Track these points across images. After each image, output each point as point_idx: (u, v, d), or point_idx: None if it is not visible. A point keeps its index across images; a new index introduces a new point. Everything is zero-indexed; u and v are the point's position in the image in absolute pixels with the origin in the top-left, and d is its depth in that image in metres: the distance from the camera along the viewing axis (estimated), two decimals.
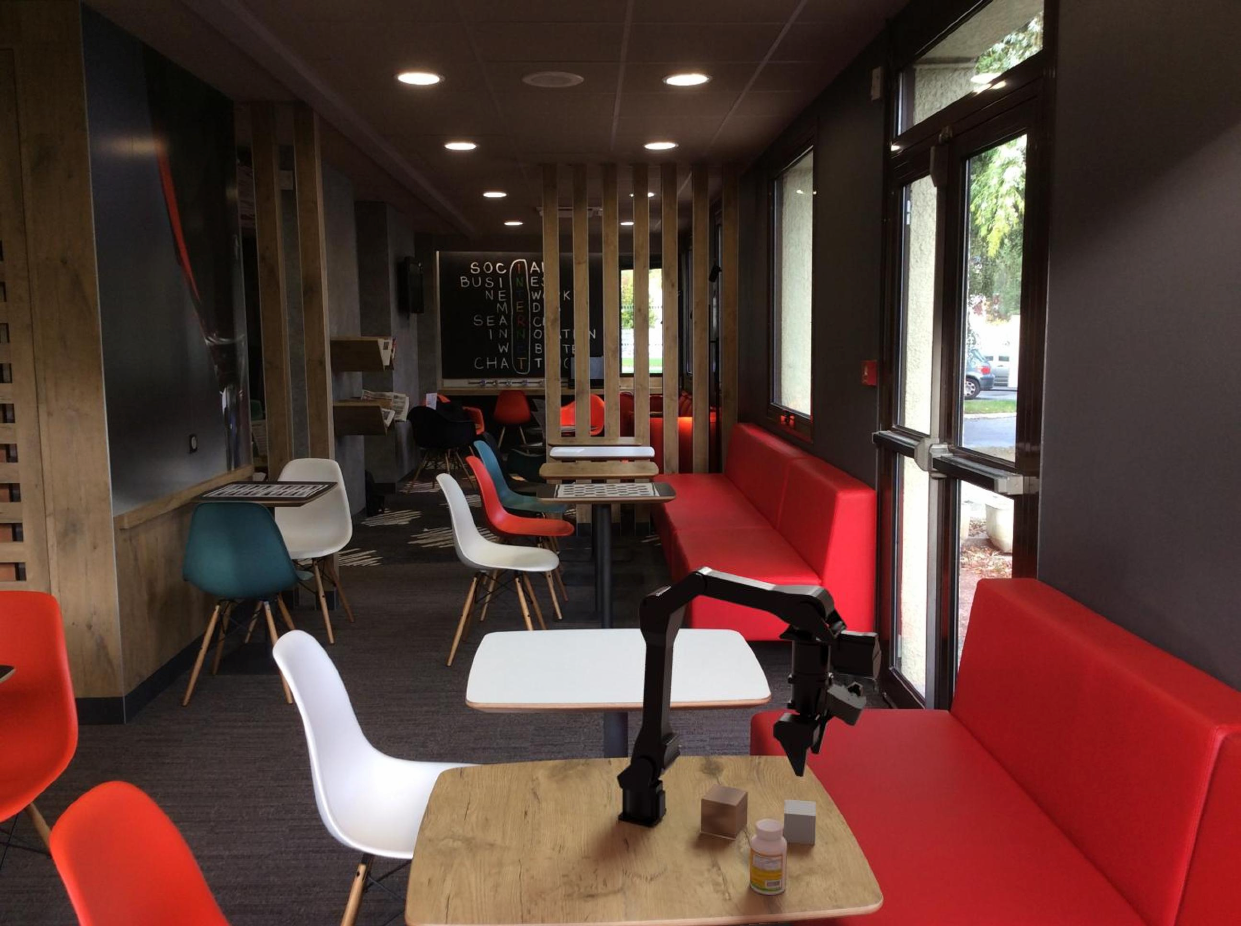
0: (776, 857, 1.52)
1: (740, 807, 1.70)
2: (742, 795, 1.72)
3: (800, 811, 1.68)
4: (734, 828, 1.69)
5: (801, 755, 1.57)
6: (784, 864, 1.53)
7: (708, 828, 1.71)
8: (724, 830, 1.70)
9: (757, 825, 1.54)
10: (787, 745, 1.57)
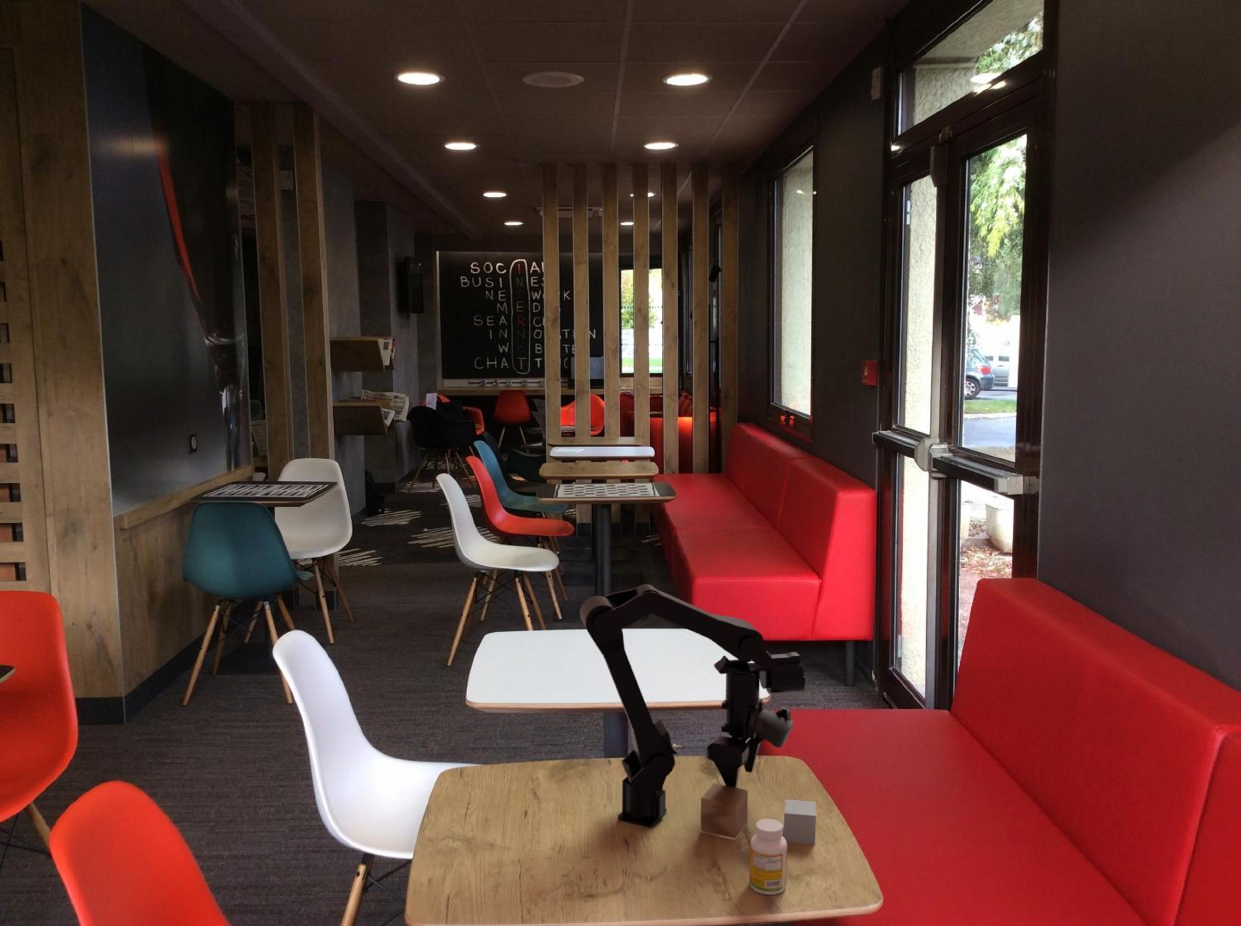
0: (776, 857, 1.52)
1: (740, 807, 1.70)
2: (742, 794, 1.72)
3: (800, 811, 1.68)
4: (734, 828, 1.69)
5: (733, 773, 1.74)
6: (784, 864, 1.53)
7: (708, 828, 1.71)
8: (724, 829, 1.70)
9: (757, 825, 1.54)
10: (720, 764, 1.74)
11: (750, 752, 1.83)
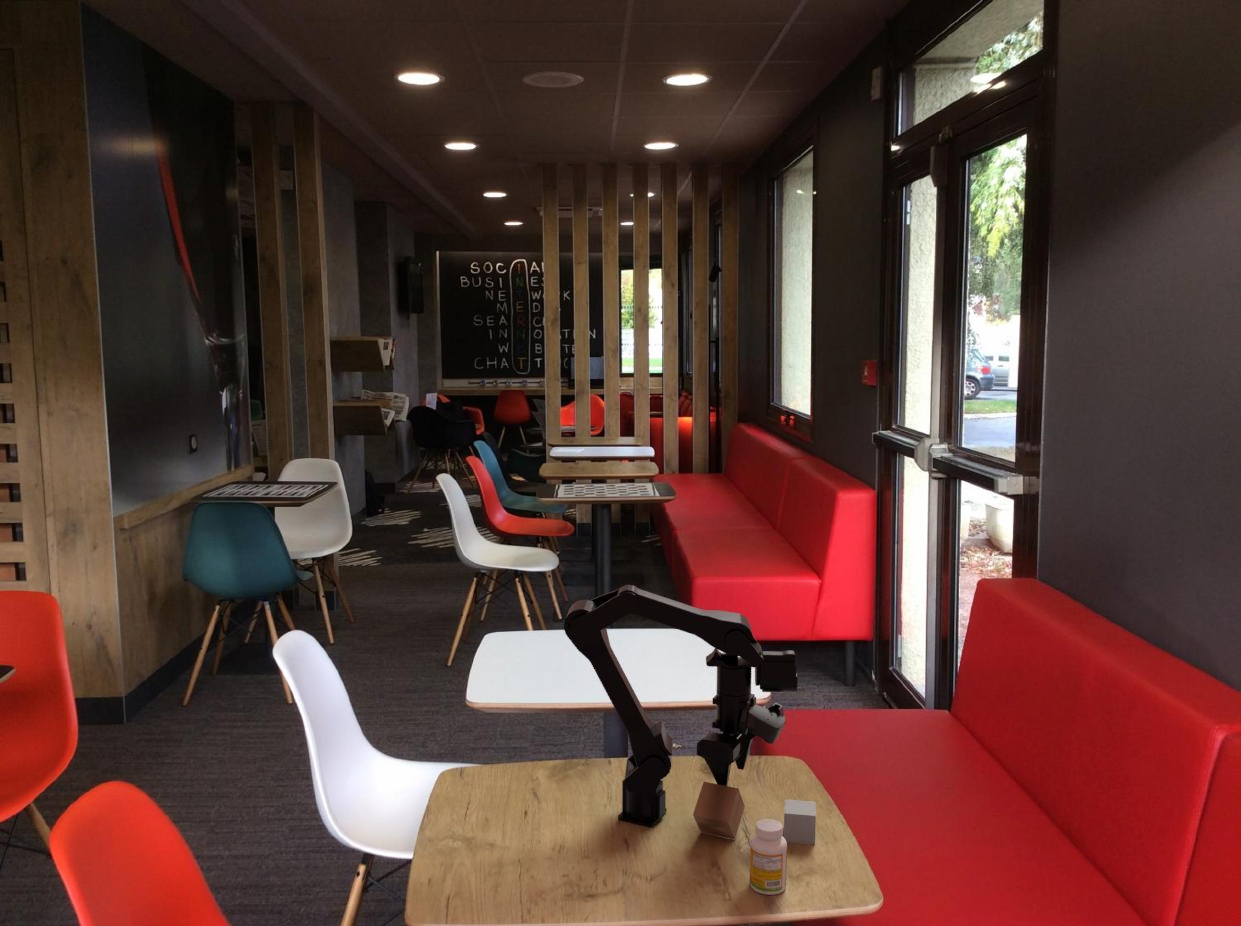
0: (776, 857, 1.52)
1: (733, 813, 1.67)
2: (733, 799, 1.68)
3: (800, 811, 1.68)
4: (732, 833, 1.68)
5: (724, 771, 1.69)
6: (784, 864, 1.53)
7: (707, 831, 1.70)
8: (722, 833, 1.69)
9: (757, 825, 1.54)
10: (711, 761, 1.70)
11: (742, 749, 1.79)
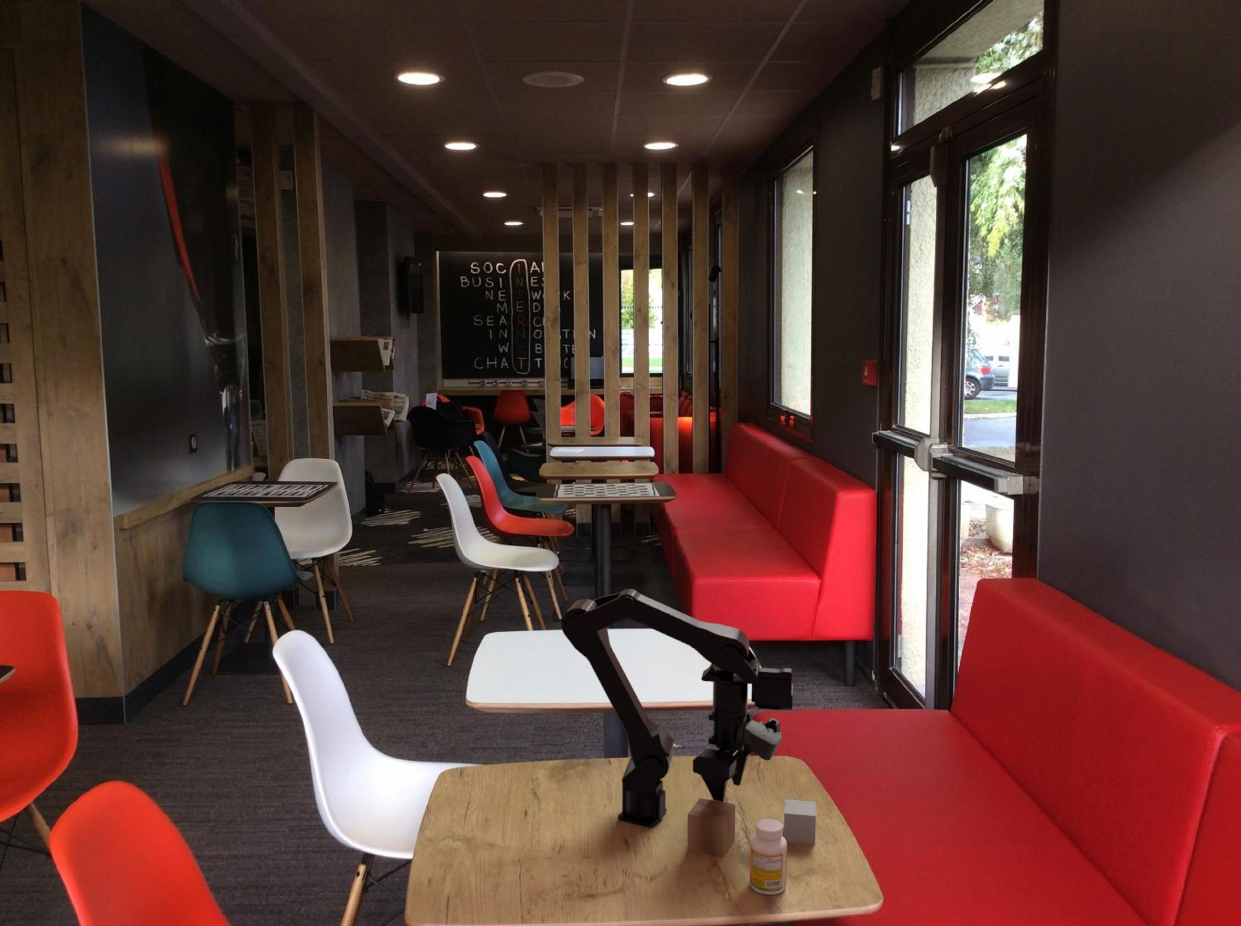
0: (776, 857, 1.52)
1: (726, 839, 1.65)
2: (722, 833, 1.63)
3: (800, 811, 1.68)
4: None
5: (720, 787, 1.68)
6: (784, 864, 1.53)
7: None
8: None
9: (757, 825, 1.54)
10: (707, 778, 1.69)
11: (738, 764, 1.78)
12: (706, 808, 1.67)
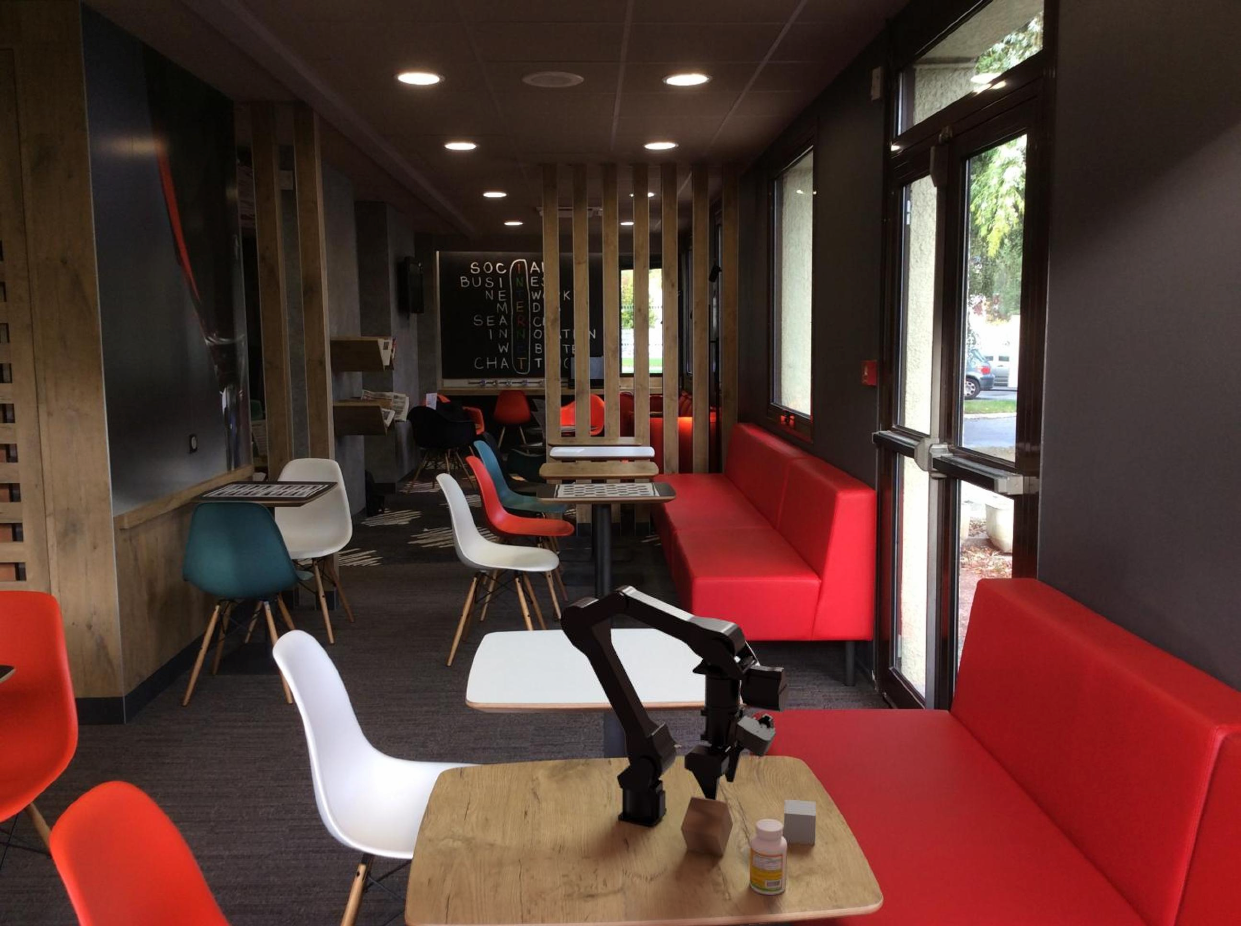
0: (776, 857, 1.52)
1: (723, 841, 1.63)
2: (717, 842, 1.61)
3: (800, 811, 1.68)
4: None
5: (712, 784, 1.65)
6: (784, 864, 1.53)
7: None
8: None
9: (757, 825, 1.54)
10: (699, 775, 1.65)
11: (731, 761, 1.74)
12: (699, 814, 1.64)
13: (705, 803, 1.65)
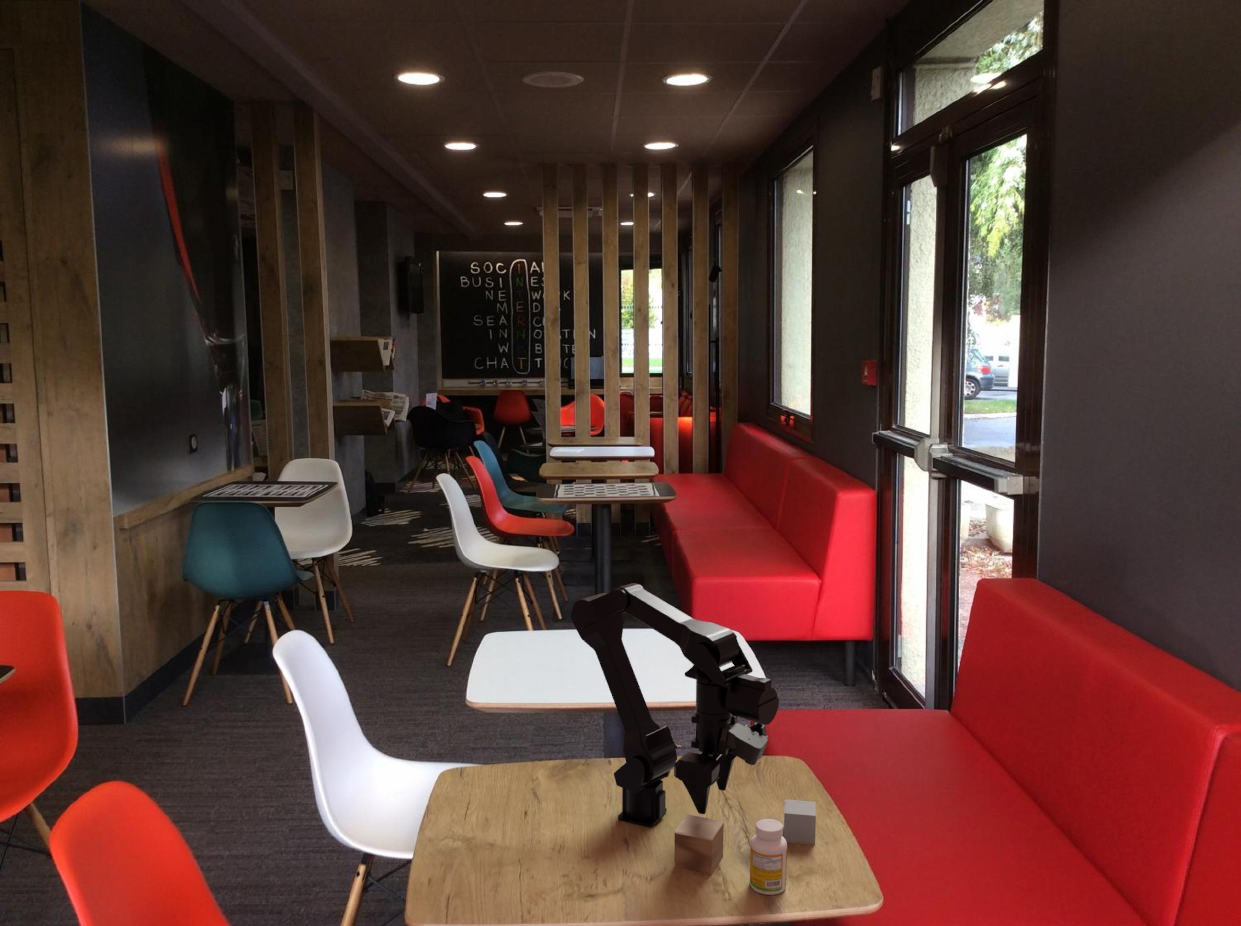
0: (776, 857, 1.52)
1: (719, 855, 1.62)
2: None
3: (800, 811, 1.68)
4: (722, 833, 1.63)
5: (702, 793, 1.61)
6: (784, 864, 1.53)
7: None
8: None
9: (757, 825, 1.54)
10: (689, 783, 1.61)
11: (723, 769, 1.70)
12: (687, 852, 1.59)
13: (690, 839, 1.59)
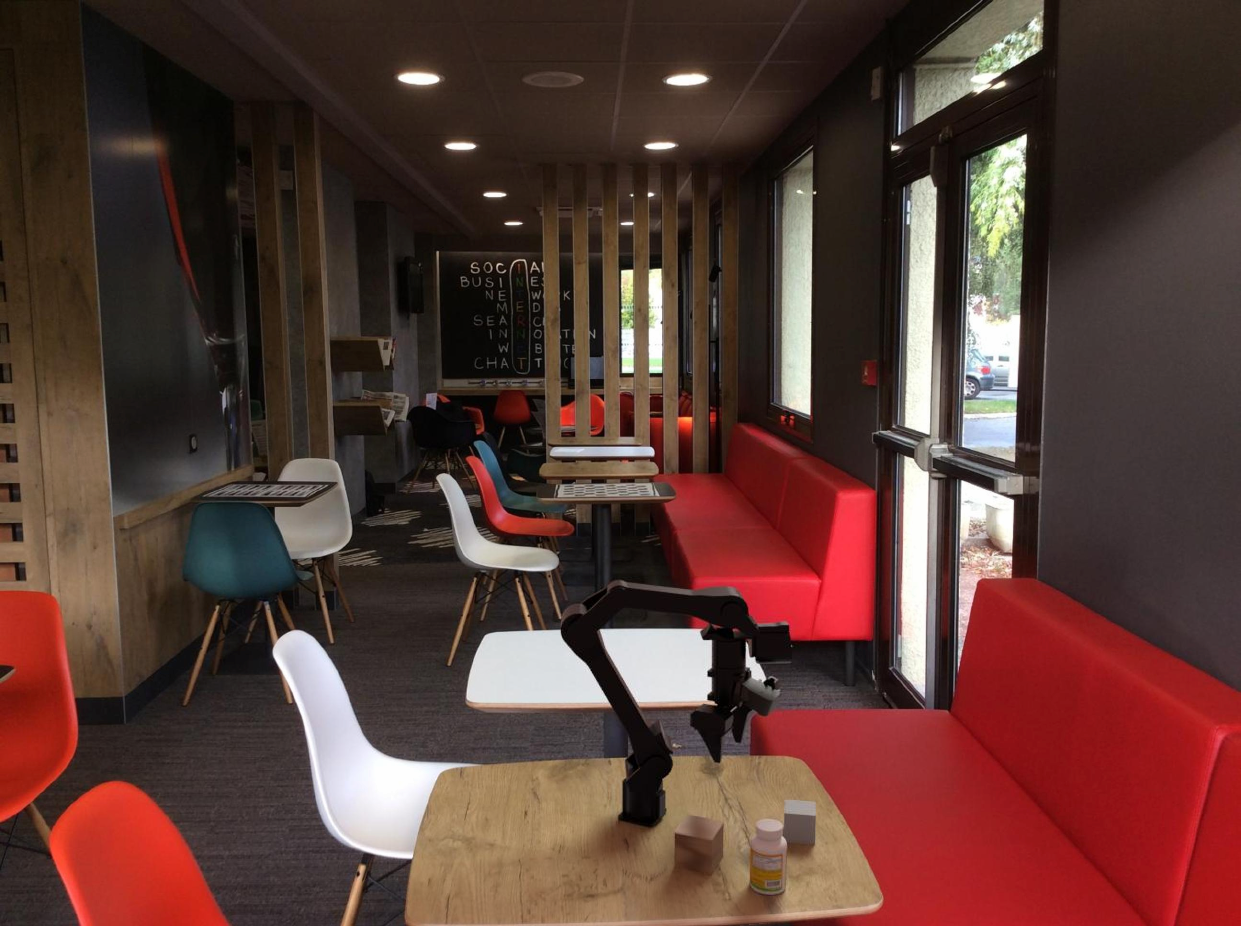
0: (776, 857, 1.52)
1: (719, 855, 1.62)
2: None
3: (800, 811, 1.68)
4: (722, 833, 1.63)
5: (717, 743, 1.70)
6: (784, 864, 1.53)
7: None
8: None
9: (757, 825, 1.54)
10: (704, 733, 1.71)
11: (739, 722, 1.80)
12: (687, 852, 1.59)
13: (690, 839, 1.59)
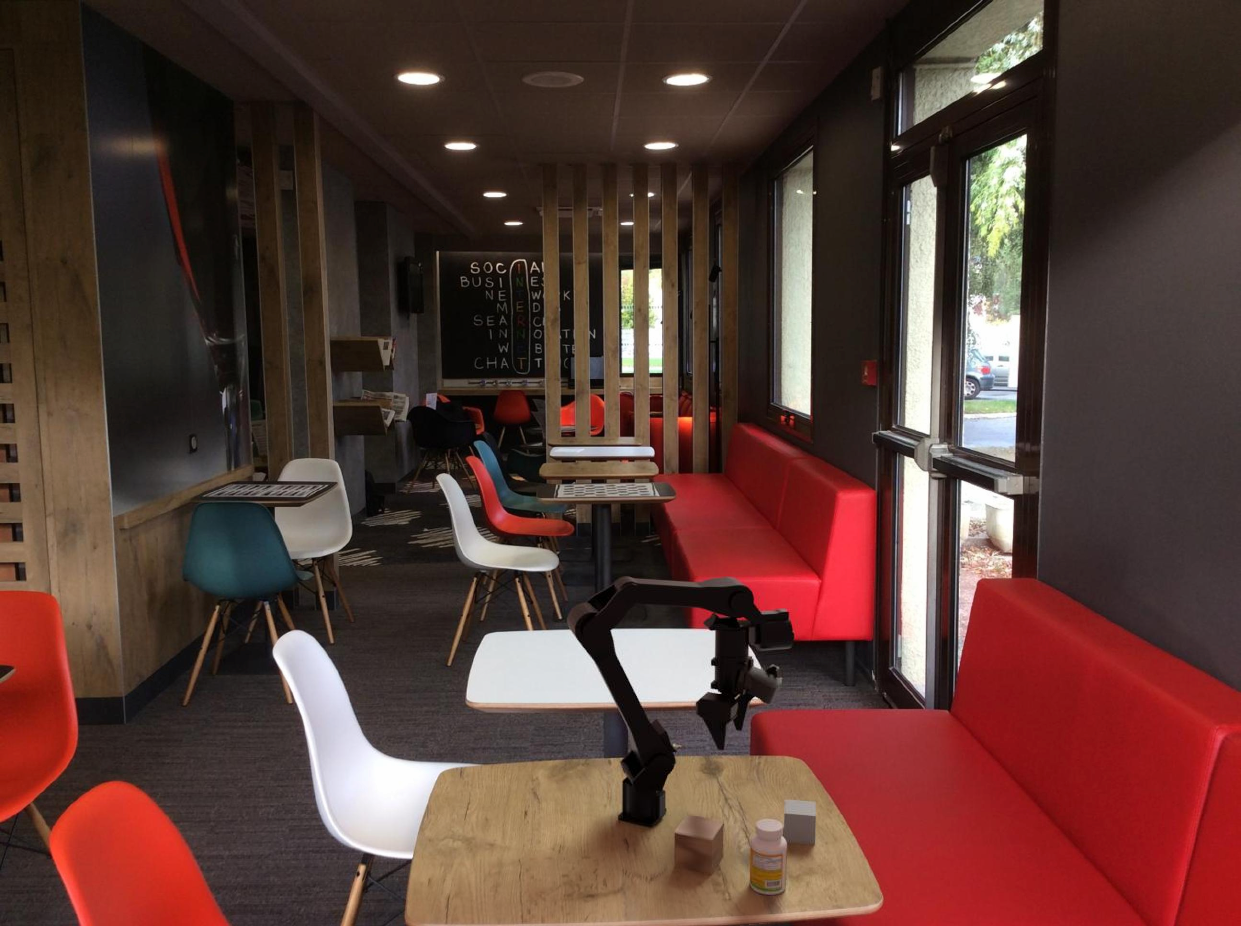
0: (776, 857, 1.52)
1: (719, 855, 1.62)
2: None
3: (800, 811, 1.68)
4: None
5: (722, 730, 1.73)
6: (784, 864, 1.53)
7: None
8: None
9: (757, 825, 1.54)
10: (709, 721, 1.74)
11: (740, 710, 1.83)
12: (687, 852, 1.59)
13: (690, 839, 1.59)
